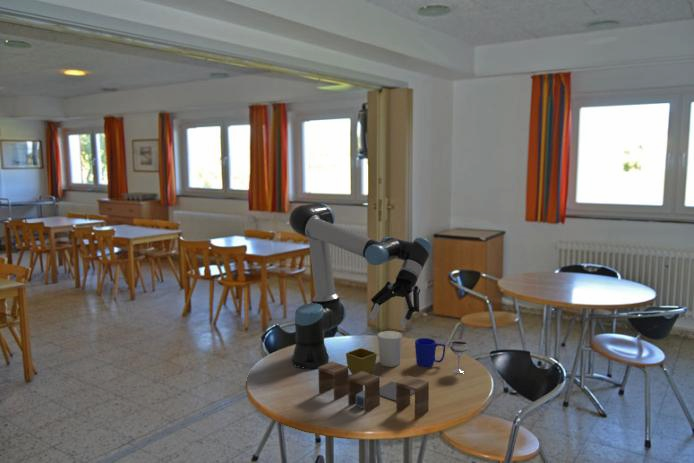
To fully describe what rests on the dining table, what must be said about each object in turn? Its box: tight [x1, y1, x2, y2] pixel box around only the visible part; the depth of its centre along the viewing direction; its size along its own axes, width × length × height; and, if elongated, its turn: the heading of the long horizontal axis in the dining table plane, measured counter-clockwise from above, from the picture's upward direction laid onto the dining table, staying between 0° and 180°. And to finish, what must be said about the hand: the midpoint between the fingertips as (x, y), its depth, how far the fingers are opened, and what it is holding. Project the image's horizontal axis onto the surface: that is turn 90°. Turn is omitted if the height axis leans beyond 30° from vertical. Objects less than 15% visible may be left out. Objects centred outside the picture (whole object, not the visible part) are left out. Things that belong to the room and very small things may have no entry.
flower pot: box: [345, 347, 378, 376], centre depth 207 cm, size 9×9×9 cm
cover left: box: [317, 361, 350, 401], centre depth 191 cm, size 8×7×10 cm
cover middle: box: [347, 371, 381, 413], centre depth 182 cm, size 8×7×10 cm
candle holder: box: [377, 330, 403, 368], centre depth 219 cm, size 10×10×12 cm
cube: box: [355, 390, 365, 410], centre depth 182 cm, size 4×4×4 cm
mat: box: [380, 380, 415, 402], centre depth 192 cm, size 12×12×1 cm
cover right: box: [395, 375, 430, 419], centre depth 177 cm, size 8×7×10 cm
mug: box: [414, 337, 446, 368], centre depth 216 cm, size 8×12×10 cm
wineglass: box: [449, 338, 469, 374], centre depth 209 cm, size 7×7×12 cm
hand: (385, 323), depth 192 cm, fingers open, 13 cm apart
